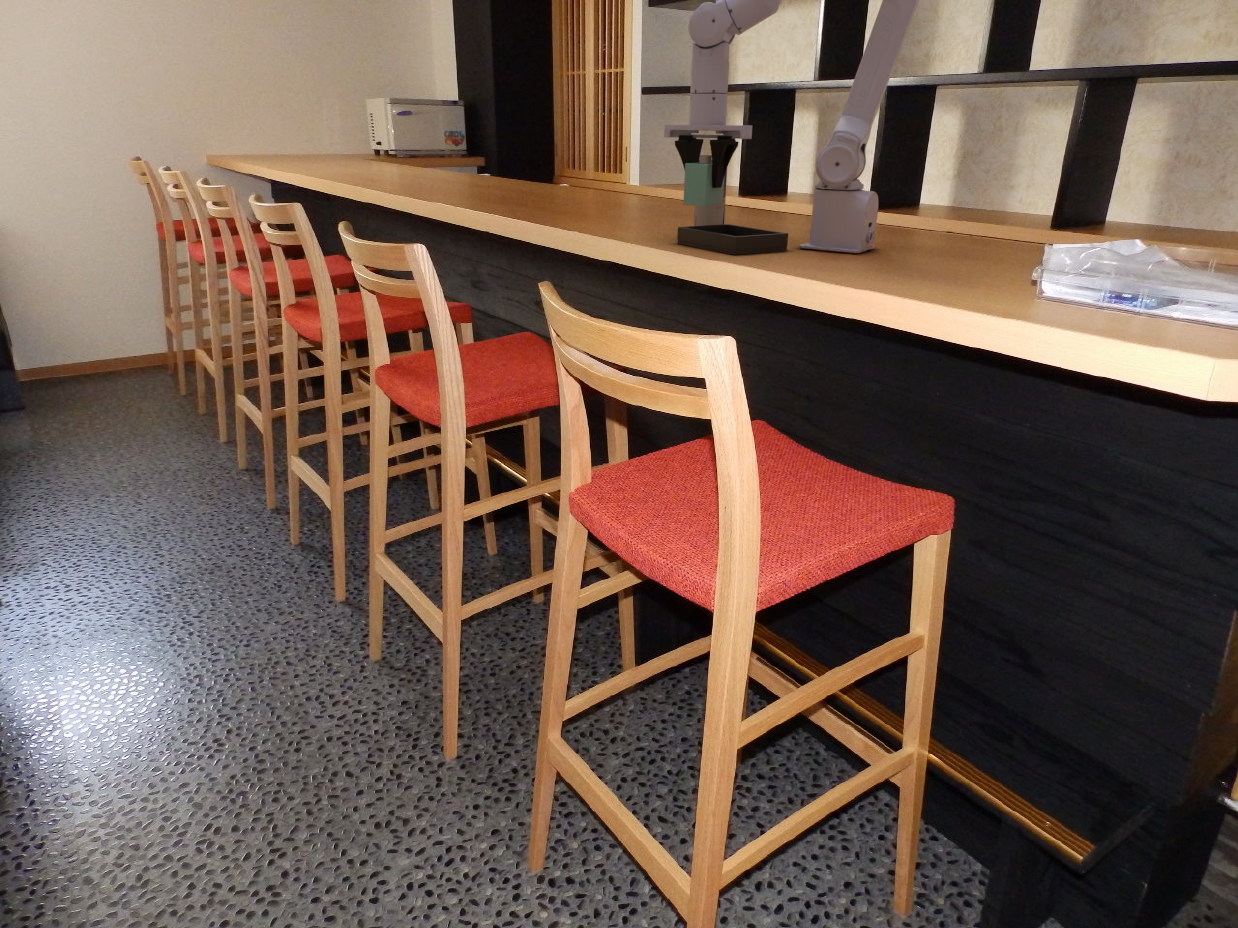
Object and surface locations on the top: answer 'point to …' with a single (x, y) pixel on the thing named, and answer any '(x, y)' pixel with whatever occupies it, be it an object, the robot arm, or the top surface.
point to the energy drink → (711, 211)
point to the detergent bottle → (701, 184)
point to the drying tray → (732, 239)
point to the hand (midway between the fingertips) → (704, 187)
